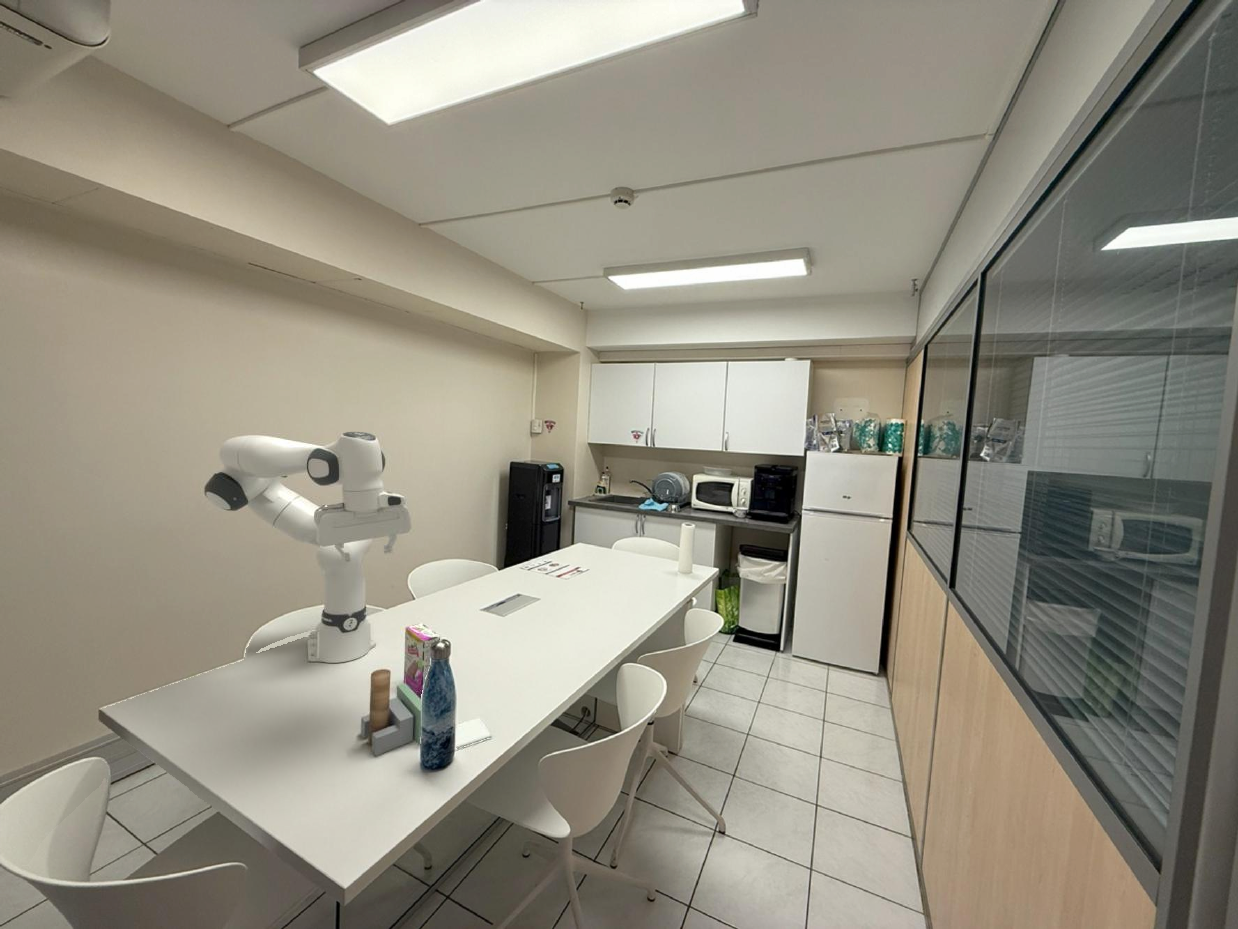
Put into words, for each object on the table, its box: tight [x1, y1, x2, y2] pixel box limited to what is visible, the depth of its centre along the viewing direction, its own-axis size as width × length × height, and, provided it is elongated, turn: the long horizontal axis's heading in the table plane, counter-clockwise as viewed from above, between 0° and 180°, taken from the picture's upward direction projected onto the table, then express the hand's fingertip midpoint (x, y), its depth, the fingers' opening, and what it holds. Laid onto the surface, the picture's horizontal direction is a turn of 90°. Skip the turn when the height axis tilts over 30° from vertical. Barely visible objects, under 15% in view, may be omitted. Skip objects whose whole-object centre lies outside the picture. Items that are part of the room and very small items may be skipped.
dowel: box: [368, 668, 392, 747], centre depth 111 cm, size 4×4×16 cm
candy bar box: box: [403, 622, 441, 699], centre depth 134 cm, size 11×5×16 cm, turn 48°
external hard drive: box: [456, 717, 492, 750], centre depth 115 cm, size 2×8×12 cm
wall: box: [396, 682, 423, 746], centre depth 116 cm, size 14×2×8 cm, turn 45°
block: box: [360, 696, 414, 757], centre depth 112 cm, size 10×8×6 cm
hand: (367, 557), depth 117 cm, fingers open, 8 cm apart
